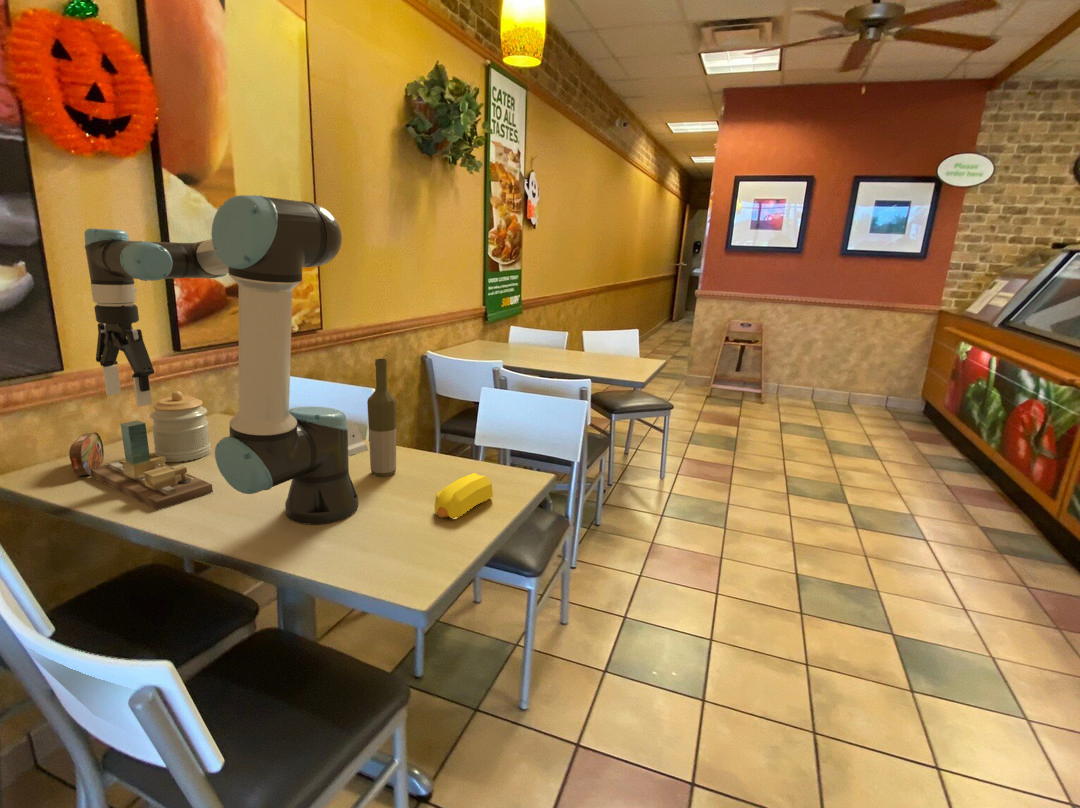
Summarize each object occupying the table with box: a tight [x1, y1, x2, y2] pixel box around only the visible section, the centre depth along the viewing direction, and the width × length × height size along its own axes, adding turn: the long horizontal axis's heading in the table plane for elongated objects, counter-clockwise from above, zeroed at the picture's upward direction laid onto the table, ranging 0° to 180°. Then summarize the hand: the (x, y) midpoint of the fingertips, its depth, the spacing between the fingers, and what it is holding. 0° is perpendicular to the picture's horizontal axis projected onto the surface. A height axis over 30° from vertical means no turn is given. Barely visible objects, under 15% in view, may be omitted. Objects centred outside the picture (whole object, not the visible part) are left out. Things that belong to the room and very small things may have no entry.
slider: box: [120, 419, 167, 479], centre depth 133 cm, size 5×8×13 cm, turn 149°
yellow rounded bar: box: [433, 472, 494, 519], centre depth 132 cm, size 18×7×8 cm
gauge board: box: [90, 457, 214, 511], centre depth 135 cm, size 30×12×6 cm, turn 59°
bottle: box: [366, 358, 397, 477], centre depth 145 cm, size 7×7×30 cm
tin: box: [68, 431, 105, 477], centre depth 142 cm, size 15×3×8 cm, turn 22°
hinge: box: [346, 421, 369, 457], centre depth 160 cm, size 17×5×10 cm, turn 149°
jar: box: [149, 390, 212, 463], centre depth 153 cm, size 13×13×18 cm
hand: (128, 399), depth 129 cm, fingers open, 13 cm apart
